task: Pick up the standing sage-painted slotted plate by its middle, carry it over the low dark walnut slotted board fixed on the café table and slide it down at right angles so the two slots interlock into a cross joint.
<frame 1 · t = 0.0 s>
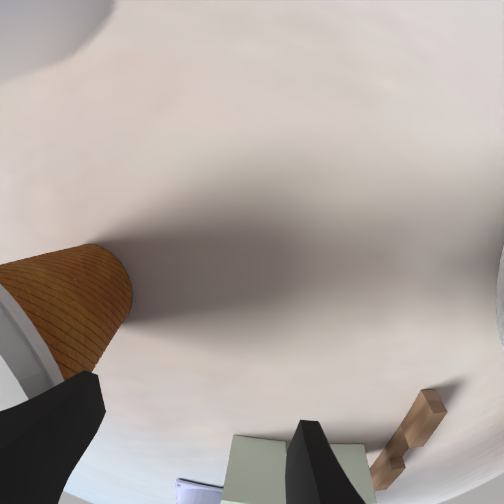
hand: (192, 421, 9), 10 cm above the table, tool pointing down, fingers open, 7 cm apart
disposable coffee cup: (97, 285, 19), on the table
sage slot plate: (298, 448, 22), on the table
walnut slot board: (399, 435, 21), on the table
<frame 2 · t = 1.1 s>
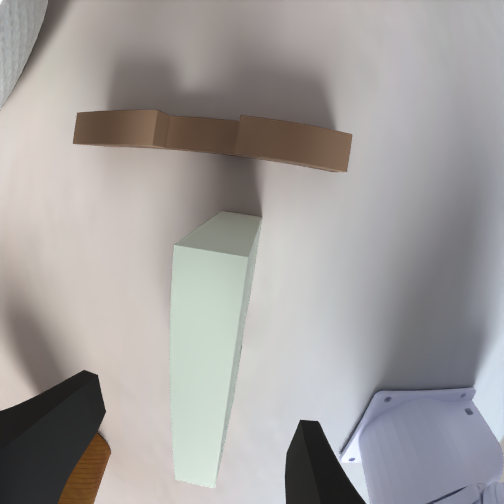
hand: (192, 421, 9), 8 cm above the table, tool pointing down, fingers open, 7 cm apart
disposable coffee cup: (84, 436, 21), on the table
sage slot plate: (227, 322, 16), on the table
walnut slot board: (211, 138, 14), on the table
cereal bowl: (5, 59, 13), on the table
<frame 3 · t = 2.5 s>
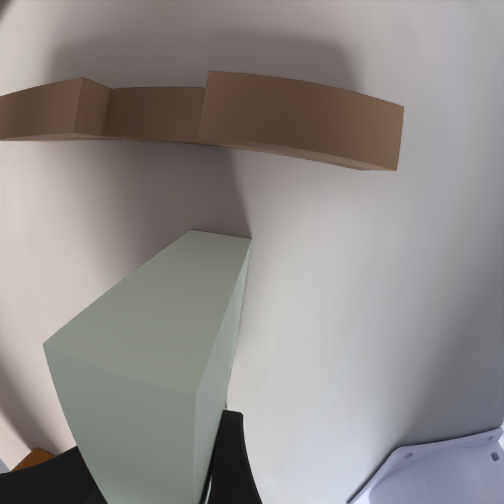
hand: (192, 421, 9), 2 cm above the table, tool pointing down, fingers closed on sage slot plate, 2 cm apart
disposable coffee cup: (62, 469, 17), on the table
sage slot plate: (205, 379, 11), on the table, touching gripper
walnut slot board: (174, 119, 9), on the table
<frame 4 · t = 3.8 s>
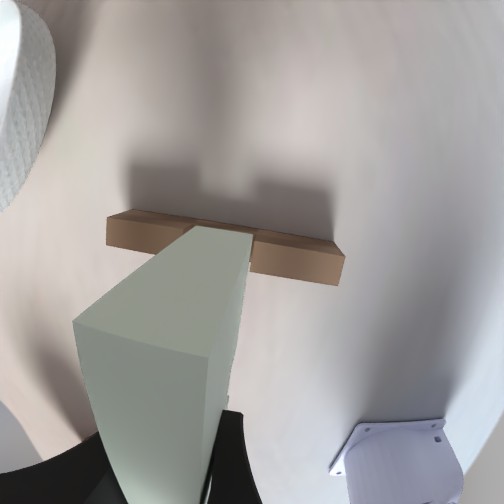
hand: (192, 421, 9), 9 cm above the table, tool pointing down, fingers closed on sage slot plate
sage slot plate: (209, 368, 12), point 6 cm above the table, touching gripper
walnut slot board: (226, 236, 17), on the table
cereal bowl: (15, 118, 16), on the table
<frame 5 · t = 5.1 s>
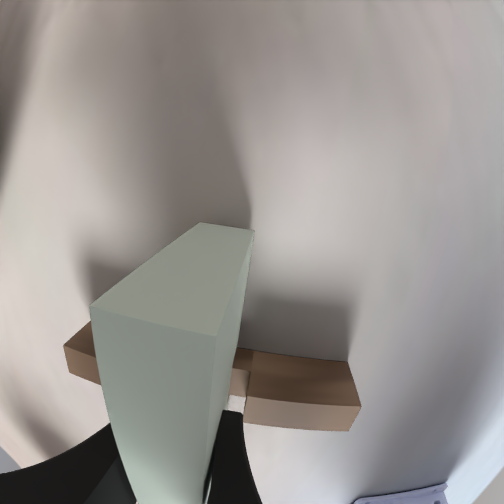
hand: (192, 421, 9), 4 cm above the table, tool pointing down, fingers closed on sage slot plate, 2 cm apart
sage slot plate: (211, 361, 12), on the table, touching gripper
walnut slot board: (214, 357, 13), on the table
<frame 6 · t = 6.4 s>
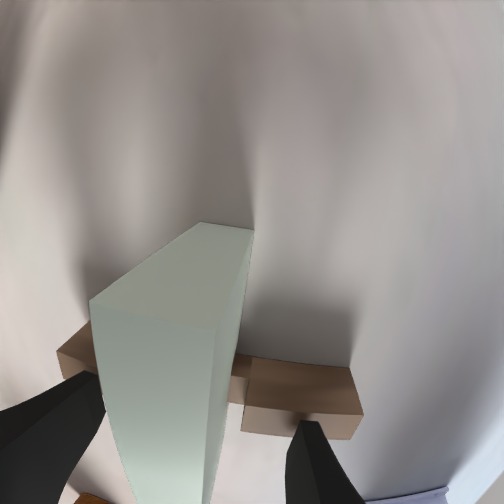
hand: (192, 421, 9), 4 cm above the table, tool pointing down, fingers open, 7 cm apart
sage slot plate: (211, 361, 12), on the table
walnut slot board: (211, 363, 12), on the table
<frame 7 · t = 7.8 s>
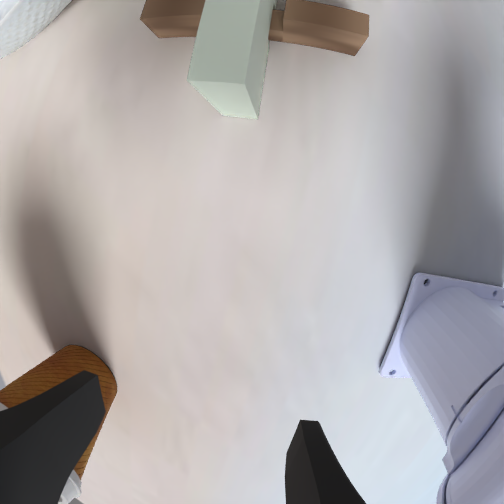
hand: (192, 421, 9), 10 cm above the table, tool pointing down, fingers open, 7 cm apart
disposable coffee cup: (88, 373, 22), on the table
sage slot plate: (255, 28, 14), on the table
walnut slot board: (255, 28, 14), on the table
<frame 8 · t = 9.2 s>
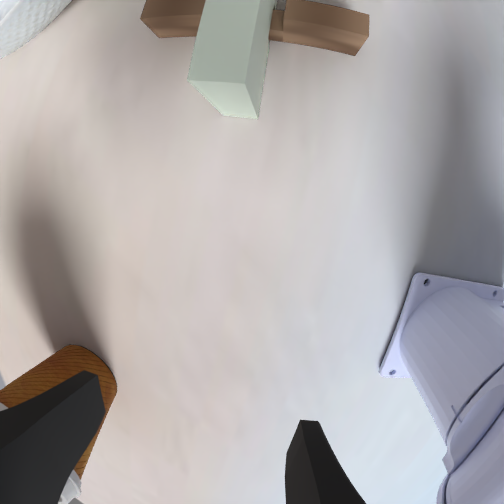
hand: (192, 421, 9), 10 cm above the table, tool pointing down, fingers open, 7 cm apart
disposable coffee cup: (88, 373, 22), on the table
sage slot plate: (255, 28, 14), on the table
walnut slot board: (255, 28, 14), on the table
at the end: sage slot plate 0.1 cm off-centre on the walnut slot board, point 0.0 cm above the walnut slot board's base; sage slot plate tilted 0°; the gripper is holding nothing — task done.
